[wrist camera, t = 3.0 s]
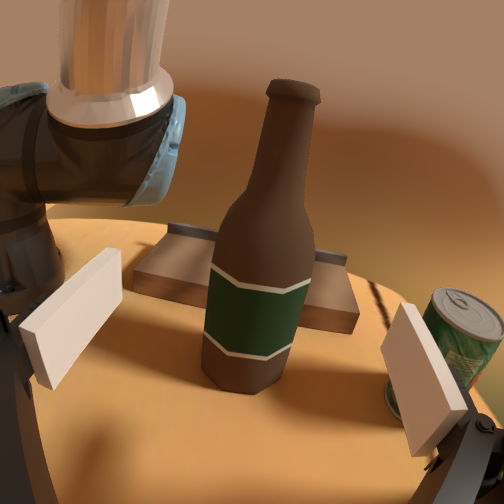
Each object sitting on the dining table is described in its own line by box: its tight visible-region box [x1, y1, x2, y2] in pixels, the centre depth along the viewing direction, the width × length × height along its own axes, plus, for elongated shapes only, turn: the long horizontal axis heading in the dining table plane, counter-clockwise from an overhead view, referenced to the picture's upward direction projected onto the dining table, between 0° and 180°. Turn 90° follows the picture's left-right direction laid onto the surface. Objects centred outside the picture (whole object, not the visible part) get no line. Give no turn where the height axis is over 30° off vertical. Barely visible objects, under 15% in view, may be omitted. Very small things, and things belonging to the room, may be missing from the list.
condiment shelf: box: [133, 221, 360, 334], centre depth 41 cm, size 26×13×4 cm, turn 83°
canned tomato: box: [384, 287, 504, 422], centre depth 24 cm, size 8×8×11 cm
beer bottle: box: [201, 79, 321, 394], centre depth 24 cm, size 8×8×24 cm
